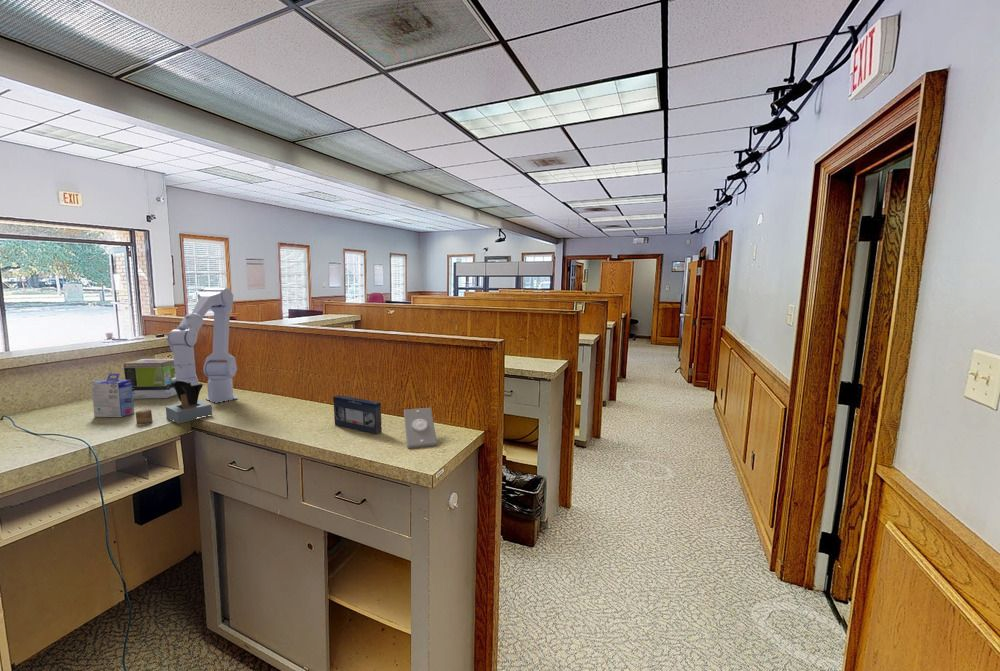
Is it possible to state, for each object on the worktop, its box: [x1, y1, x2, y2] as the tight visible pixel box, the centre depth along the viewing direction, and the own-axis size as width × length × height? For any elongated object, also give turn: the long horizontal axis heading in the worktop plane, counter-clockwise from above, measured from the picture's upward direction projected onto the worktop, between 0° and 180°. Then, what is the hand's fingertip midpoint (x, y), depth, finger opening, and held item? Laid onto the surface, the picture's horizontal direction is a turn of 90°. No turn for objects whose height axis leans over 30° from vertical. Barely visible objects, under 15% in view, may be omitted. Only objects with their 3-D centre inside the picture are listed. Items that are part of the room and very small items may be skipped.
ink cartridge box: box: [91, 373, 135, 418], centre depth 145 cm, size 10×6×14 cm, turn 89°
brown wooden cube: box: [135, 409, 153, 426], centre depth 139 cm, size 4×4×4 cm
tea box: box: [123, 358, 178, 400], centre depth 169 cm, size 15×10×15 cm
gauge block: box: [165, 399, 213, 424], centre depth 145 cm, size 10×10×4 cm
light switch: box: [403, 407, 438, 449], centre depth 127 cm, size 8×6×14 cm
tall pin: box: [180, 394, 196, 409], centre depth 145 cm, size 4×4×8 cm
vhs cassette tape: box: [333, 394, 383, 435], centre depth 135 cm, size 18×3×10 cm, turn 62°
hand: (188, 402), depth 144 cm, fingers open, 7 cm apart
